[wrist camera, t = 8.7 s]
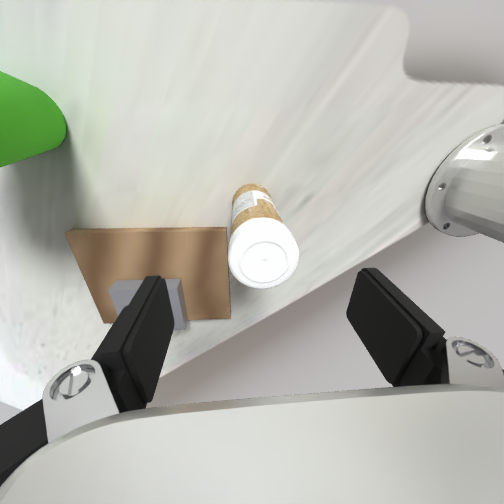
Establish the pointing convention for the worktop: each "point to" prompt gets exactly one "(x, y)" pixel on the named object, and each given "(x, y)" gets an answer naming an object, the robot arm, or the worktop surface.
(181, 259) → the board
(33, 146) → the cup
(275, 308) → the worktop surface
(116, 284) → the tile
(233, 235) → the sprinkles bottle
